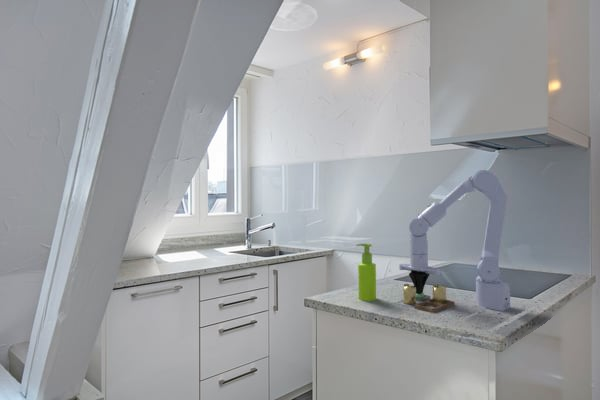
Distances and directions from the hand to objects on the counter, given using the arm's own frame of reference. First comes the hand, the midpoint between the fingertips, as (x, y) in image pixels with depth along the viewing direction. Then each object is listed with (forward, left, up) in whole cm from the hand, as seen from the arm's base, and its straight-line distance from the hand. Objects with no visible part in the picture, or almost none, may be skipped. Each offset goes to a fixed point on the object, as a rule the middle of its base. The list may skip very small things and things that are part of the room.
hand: (419, 293), depth 134 cm
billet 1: (-1, +7, -2) cm, 7 cm away
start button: (0, 0, -3) cm, 3 cm away
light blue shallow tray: (-1, +7, -3) cm, 8 cm away
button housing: (0, 0, -3) cm, 3 cm away
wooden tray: (-9, +5, -3) cm, 10 cm away
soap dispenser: (+13, +12, -3) cm, 18 cm away
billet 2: (-9, +2, -2) cm, 9 cm away
